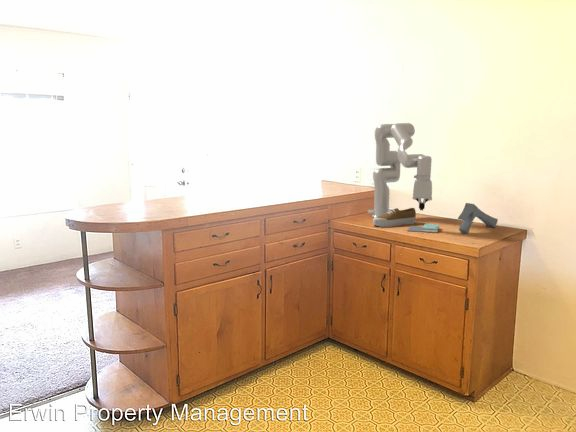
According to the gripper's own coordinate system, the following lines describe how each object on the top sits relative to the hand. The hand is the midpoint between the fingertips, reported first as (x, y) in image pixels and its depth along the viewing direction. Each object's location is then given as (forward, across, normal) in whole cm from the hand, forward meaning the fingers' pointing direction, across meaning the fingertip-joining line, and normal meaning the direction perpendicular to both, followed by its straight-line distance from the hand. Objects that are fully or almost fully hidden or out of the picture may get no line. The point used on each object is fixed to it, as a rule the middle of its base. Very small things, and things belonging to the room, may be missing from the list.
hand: (421, 209), depth 279 cm
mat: (+11, +2, -1) cm, 11 cm away
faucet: (+11, +31, +6) cm, 33 cm away
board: (+10, +2, -1) cm, 10 cm away
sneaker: (+12, -16, +10) cm, 23 cm away
